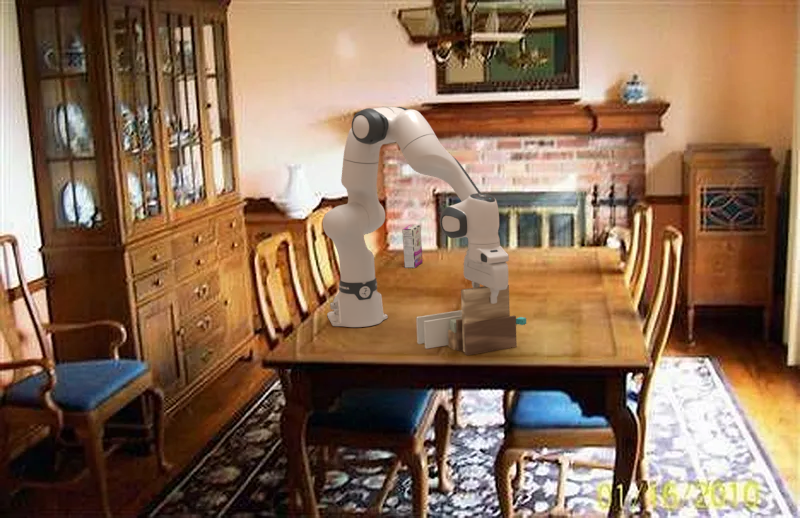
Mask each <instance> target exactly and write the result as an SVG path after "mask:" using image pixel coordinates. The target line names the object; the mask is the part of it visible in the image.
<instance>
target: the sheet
mask: <svg viewBox="0 0 800 518" xmlns="http://www.w3.org/2000/svg"><path fill="white" fill-rule="evenodd" d="M460 296H461V297H460V301H461V310H462V334H463V350H462V352H463V353H465V337H464V323H470V322H477V321H483V320H489V319H495V318H502V317H508V316H511V313H510V285H509V284H508V286H507V288H506V289H505V290H499V293H498V296H497V303H494V304H492V303H490V302H489V297H490V296H491V292H490V288H488V287H486V286H483V285H481V286H480V287H476V288H473V287H470V288H463V289H462V288H461V289H460Z"/></svg>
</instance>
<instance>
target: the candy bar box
mask: <svg viewBox="0 0 800 518" xmlns="http://www.w3.org/2000/svg"><path fill="white" fill-rule="evenodd" d="M421 228H422V227H421V224H409V225H408V226H406V227H404V228H402V230H401V231H402V232H401V233H402V244H403V246H402V247H403V261H404V262H403V263H404V268H405V269H416V268H417V267H419V266H420V265H421V264H422V263H423V249H422V247H423V245H422V231H421V230H422V229H421Z"/></svg>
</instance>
